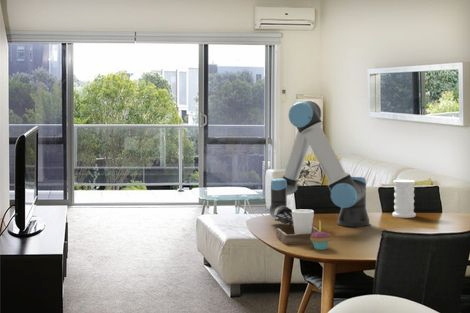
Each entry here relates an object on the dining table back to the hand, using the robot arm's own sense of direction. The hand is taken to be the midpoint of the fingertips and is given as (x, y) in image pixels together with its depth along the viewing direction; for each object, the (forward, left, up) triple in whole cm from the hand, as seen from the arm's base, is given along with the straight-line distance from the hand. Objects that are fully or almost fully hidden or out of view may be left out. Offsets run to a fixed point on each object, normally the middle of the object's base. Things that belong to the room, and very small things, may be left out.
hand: (297, 223), depth 326 cm
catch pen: (-1, +3, -7) cm, 7 cm away
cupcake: (-13, +19, -7) cm, 24 cm away
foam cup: (-3, +5, -7) cm, 9 cm away
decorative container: (-44, -66, -7) cm, 79 cm away
